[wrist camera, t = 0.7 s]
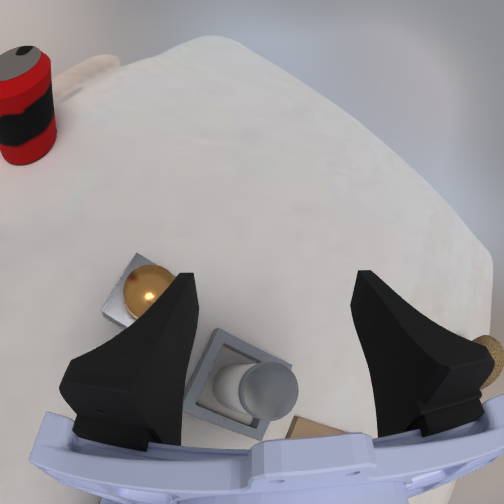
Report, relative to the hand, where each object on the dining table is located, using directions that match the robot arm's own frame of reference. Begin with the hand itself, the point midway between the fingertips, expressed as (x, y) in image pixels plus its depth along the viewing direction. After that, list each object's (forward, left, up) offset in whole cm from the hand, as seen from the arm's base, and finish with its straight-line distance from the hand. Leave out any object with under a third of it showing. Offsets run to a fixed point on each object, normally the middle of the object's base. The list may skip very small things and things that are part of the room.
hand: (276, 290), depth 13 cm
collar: (-3, -6, -17) cm, 19 cm away
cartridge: (-3, -6, -17) cm, 19 cm away
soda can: (+8, +28, -18) cm, 34 cm away
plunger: (0, +5, -15) cm, 16 cm away
